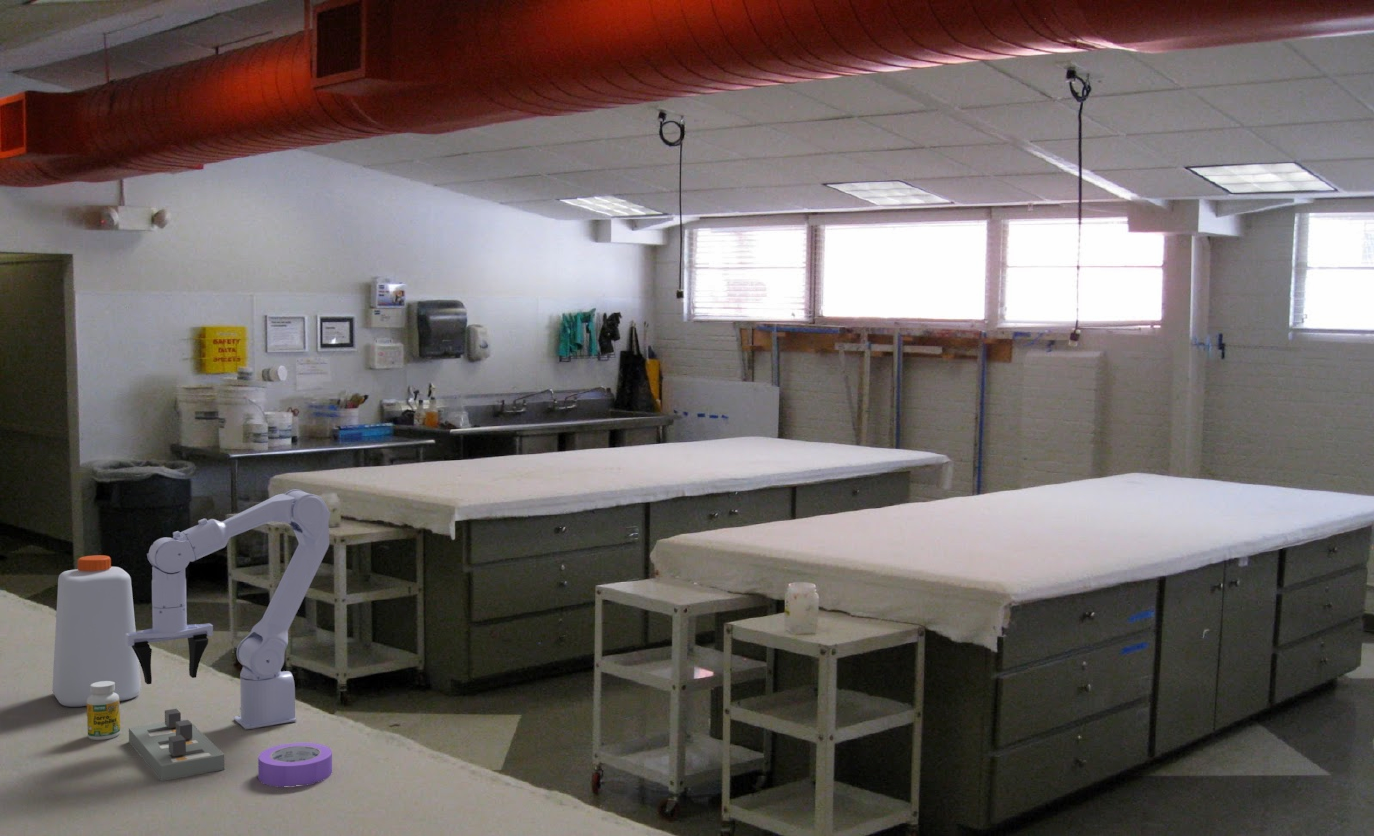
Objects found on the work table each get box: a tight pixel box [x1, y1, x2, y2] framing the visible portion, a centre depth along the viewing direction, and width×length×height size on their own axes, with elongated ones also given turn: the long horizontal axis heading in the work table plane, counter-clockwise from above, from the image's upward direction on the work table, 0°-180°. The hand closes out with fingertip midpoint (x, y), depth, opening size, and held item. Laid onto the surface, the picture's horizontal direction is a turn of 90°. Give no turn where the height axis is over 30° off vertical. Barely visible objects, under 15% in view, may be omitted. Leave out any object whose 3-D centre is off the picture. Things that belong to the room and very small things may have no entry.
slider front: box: [169, 735, 186, 756], centre depth 211 cm, size 2×3×2 cm, turn 35°
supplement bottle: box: [86, 681, 121, 741], centre depth 229 cm, size 5×5×10 cm
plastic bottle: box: [52, 554, 142, 708], centre depth 253 cm, size 15×15×28 cm
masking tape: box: [257, 742, 333, 788], centre depth 210 cm, size 12×12×4 cm
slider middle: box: [176, 719, 193, 739], centre depth 220 cm, size 2×3×2 cm, turn 35°
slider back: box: [164, 708, 182, 728], centre depth 226 cm, size 2×3×2 cm, turn 35°
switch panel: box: [128, 718, 226, 782], centre depth 219 cm, size 10×24×3 cm, turn 35°
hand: (170, 679), depth 228 cm, fingers open, 7 cm apart
